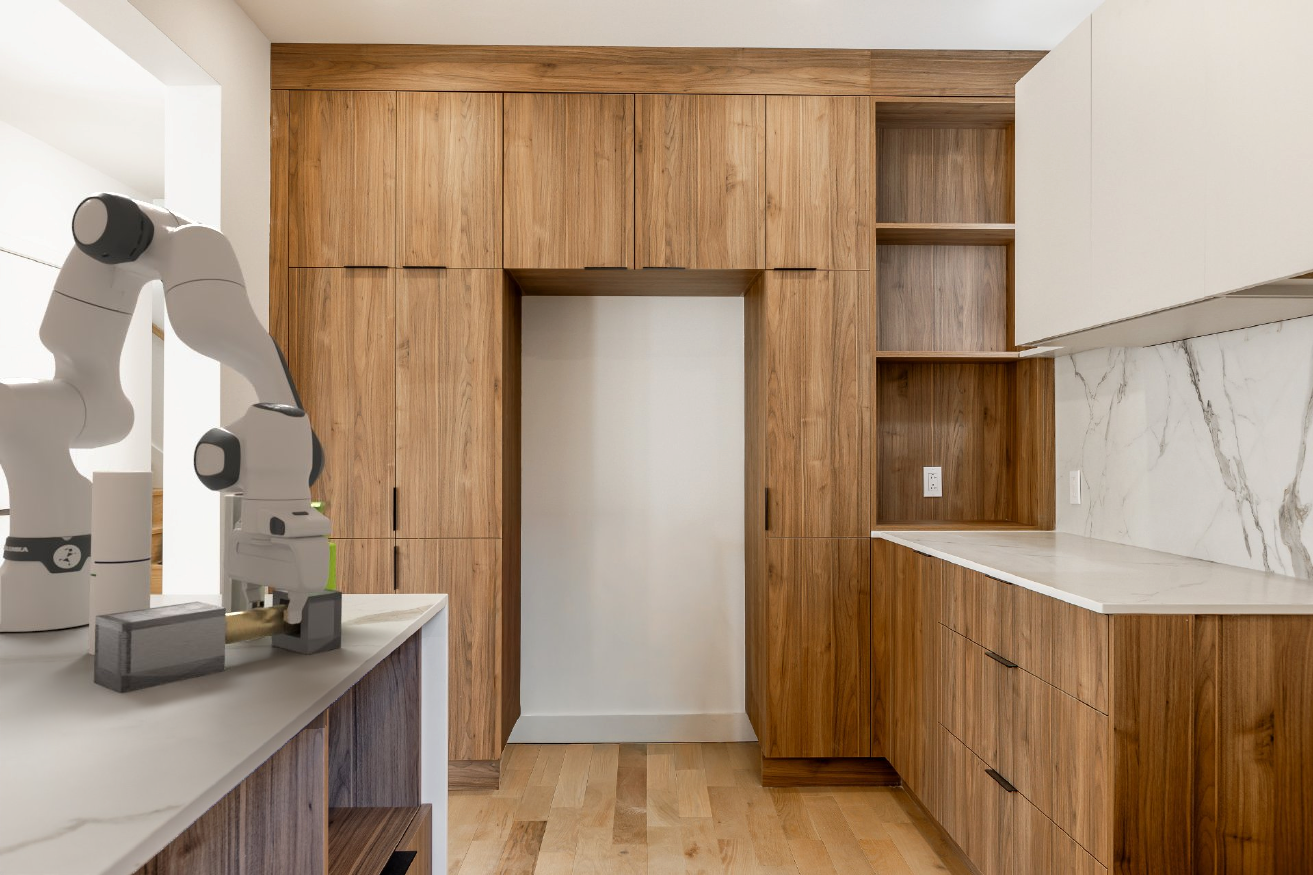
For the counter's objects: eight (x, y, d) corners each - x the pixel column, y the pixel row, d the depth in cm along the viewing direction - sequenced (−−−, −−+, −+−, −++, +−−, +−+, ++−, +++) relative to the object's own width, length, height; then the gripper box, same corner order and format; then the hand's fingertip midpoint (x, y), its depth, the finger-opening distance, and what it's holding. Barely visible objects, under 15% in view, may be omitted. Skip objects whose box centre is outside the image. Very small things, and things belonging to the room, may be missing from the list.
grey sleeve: (120, 692, 94) (122, 623, 95) (93, 682, 98) (95, 615, 99) (224, 670, 104) (225, 607, 104) (196, 661, 108) (197, 601, 109)
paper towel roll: (247, 625, 131) (250, 492, 132) (272, 629, 128) (275, 493, 129) (205, 633, 125) (207, 494, 125) (230, 638, 122) (233, 495, 122)
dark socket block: (307, 654, 113) (308, 596, 113) (271, 645, 118) (272, 589, 118) (340, 647, 117) (341, 591, 117) (304, 638, 122) (305, 585, 122)
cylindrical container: (119, 657, 110) (123, 472, 111) (75, 653, 112) (79, 471, 112) (161, 644, 117) (165, 471, 118) (119, 642, 119) (123, 470, 119)
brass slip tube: (199, 655, 103) (200, 619, 103) (181, 650, 106) (182, 614, 106) (315, 633, 116) (315, 601, 116) (296, 629, 119) (297, 597, 119)
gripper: (215, 515, 117) (212, 611, 117) (296, 525, 106) (292, 632, 105) (258, 513, 123) (255, 605, 122) (339, 522, 111) (336, 624, 111)
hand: (273, 618), depth 114 cm, fingers open, 8 cm apart
